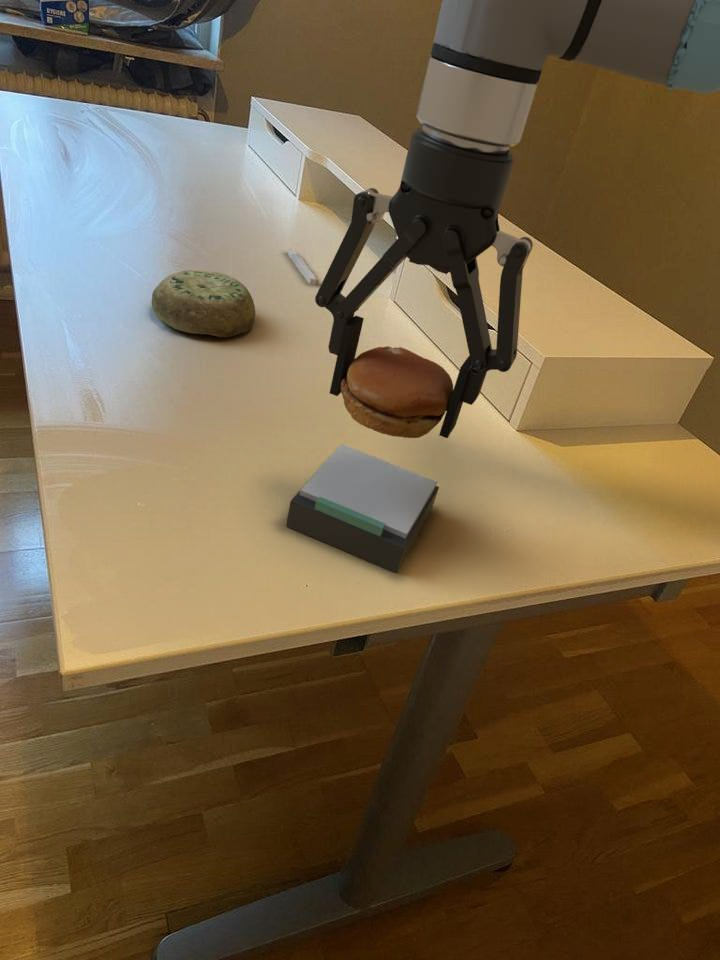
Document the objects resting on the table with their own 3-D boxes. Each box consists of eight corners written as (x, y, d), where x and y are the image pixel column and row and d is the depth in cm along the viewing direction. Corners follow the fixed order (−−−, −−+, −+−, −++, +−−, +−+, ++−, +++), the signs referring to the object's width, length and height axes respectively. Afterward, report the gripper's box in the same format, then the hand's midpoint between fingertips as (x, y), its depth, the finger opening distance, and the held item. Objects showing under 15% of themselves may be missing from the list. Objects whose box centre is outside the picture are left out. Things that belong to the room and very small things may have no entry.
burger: (375, 448, 59) (389, 397, 57) (318, 390, 65) (328, 341, 62) (467, 432, 64) (484, 385, 62) (407, 380, 70) (420, 335, 68)
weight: (128, 312, 96) (129, 275, 93) (196, 290, 106) (199, 256, 103) (210, 352, 92) (214, 314, 89) (273, 324, 102) (278, 290, 99)
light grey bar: (315, 285, 118) (316, 279, 117) (309, 284, 117) (310, 278, 117) (294, 255, 127) (295, 250, 126) (288, 255, 127) (289, 249, 126)
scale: (431, 510, 74) (442, 478, 72) (396, 573, 65) (407, 539, 63) (332, 470, 76) (339, 438, 74) (285, 526, 67) (292, 491, 65)
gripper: (624, 175, 53) (521, 436, 65) (342, 92, 57) (297, 352, 70) (615, 192, 47) (504, 476, 59) (301, 98, 51) (259, 381, 64)
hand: (392, 409), depth 65 cm, fingers closed on burger, 10 cm apart
